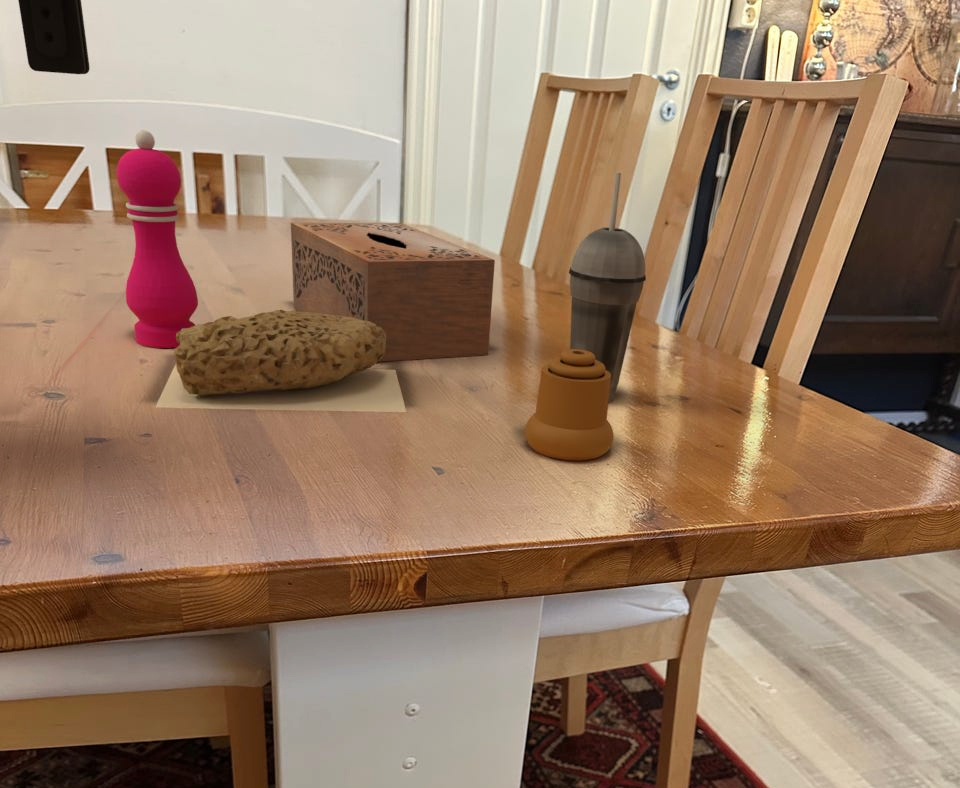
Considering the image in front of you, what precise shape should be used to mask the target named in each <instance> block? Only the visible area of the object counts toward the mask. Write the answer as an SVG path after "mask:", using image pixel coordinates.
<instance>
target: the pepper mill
mask: <svg viewBox="0 0 960 788" xmlns="http://www.w3.org/2000/svg"><path fill="white" fill-rule="evenodd" d="M134 141H135V144H136V146H137V147H138V148H134V149H131V150H129V151H126V152H125V153H124V154H123V155H122V156H121V157H120V159H119V161H118V163H117V167H116V180H117V183H118V187H119V189H120V190H121V192H122V193H123V194H124V195H125V196H126V197H127V199H128V202H126V203H125V207H126V209H127V214H126V217H127V218H128V219H130V220H131V222H132V227H133V231H134V240H135V241H134V242H135V246H134V247H135V249H134V257H133V261H132V265H131V268H130V270H129V273H128V275H127V276H128V277H127V279H126V286H125V303H126V305H127V307H128V309H129V310H130V311H131V313H133V315H134V316H135V317H136V318H137V319H138V321H137V322H135V324H134V325H133V327H134V336H135V342H136V343H137V344H139V345H141V346H144V347H147V348H148V347H149V348H155V349H156V348H157V349H175V348H177V347H178V346H179V345H180V343H178V342H177V339H176V333H178V332H180V331H181V329H183V328H190V327H192V326H195V325H196V323H194V322H193V321H192V320H190V319H191V317H192V316H193V314H194V313H195V312H196V311H197V308H198V306H199V299H198V293H197V289H196V286H195V284H194V281H193V279H192V277H191V275H190V273H189V271H188V269H187V267H186V265H185V264H184V262H183V259H182V257H181V254H180V251H179V248H178V243H177V236H176V221H178V220H179V219H180V215H179V214H178V213H179V212H178V210H179V205H178V204H176V203H175V200H176V198H177V196H178V194H179V193H180V191H181V189H182V188H181V187H182V179H181V173H180V171H179V168H178V166H177V164H176V163H175V161H174V160H173V159H172V158H171V157H170V156H169V155H168V154H166V153H164V152H163V151H160V150H158V149H155V148H154V147H155V144H156V143H155V142H156V141H155V137H154V135H153V134H152V133H151V132H150V131H148V130H144V129H142V130H139V131H137V133H136V134H135V140H134Z"/></svg>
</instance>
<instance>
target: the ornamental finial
mask: <svg viewBox="0 0 960 788" xmlns="http://www.w3.org/2000/svg"><path fill="white" fill-rule="evenodd" d="M540 370H541V371H540V379H539V385H538V391H537V392H538V393H537V401H536V407H535V412H534V413H533V414H532V415H531V416H530V417H529V418H528V420H527V422H526V424H525V428H524V436H525V439H526V442H527V444H528V445H529V447H530V448H531V449H533V450H534V451H535V452H537V453H538V454H540V455H542V456H544V457H548V458H551V459H556V460H561V461H562V460H563V461H571V462H572V461H573V462H575V461H576V462H577V461H578V462H580V461H589V460H594V459H598V458H600V457H601V456H604V454H606V453H607V452H608V451H609V449H610V448H611V446H612V444H613V441H614V430H613V426H612V424H611V423H610V421H609V420H608V413H609V412H608V410H609V402H608V401H609V391H610V381H611V374H610V372H608V371H607V370H605V366H604V364H603V363H601V362H600V361H597V360H595V355H594V354H593V353H591V352H589V351H586V350H580V349H570V348H569V349H565V350H563V351H562V352H561V353H560V356H556V357H553V358H551V359H550V360H549V362H548V364H545V365H543V366H542V367H541V369H540Z"/></svg>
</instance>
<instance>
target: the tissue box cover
mask: <svg viewBox="0 0 960 788" xmlns="http://www.w3.org/2000/svg"><path fill="white" fill-rule="evenodd" d="M290 238H291V240H290V241H291V242H290V243H291V268H292V269H291V270H292V297H293V299H292V300H293V309H294V311H300V312H310V313H318V314H329V315H336V316H345V317H353V318H356V319H360V320H363V321H367V320H368V321H370V322H372V323H374V324H376V326H377V327H379V326H380V327H381V328H382V329H383V330H384V332H385V334H386V346H385V354H384V356H383V357H382V358H381V359H380V360H378V361H377V362H376V363H378V362H396V361H409V360H410V361H411V360H426V359H443V358H461V357H476V356H489V350H490V349H489V347H490V335H491V333H490V332H491V321H492V307H493V306H492V304H493V294H494V293H493V291H494V277H495V264H496V263H495V262H496V260H495V259H493V258H491V257H488V256H486V255H483V254H481V253H478V252H476V251H474V250H470V249H468V248H465V247H462V246H460V245H458V244H455V243H452V242H450V241H447V240H446V239H443V238H440V237H437V236H435V235H433V234H430V233H428V232H424V231H422V230H419V229H417V228H415V227H412V226H409V225H407V224H404V223H403V222H402V223H401V222H400V223H399V222H290Z"/></svg>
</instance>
